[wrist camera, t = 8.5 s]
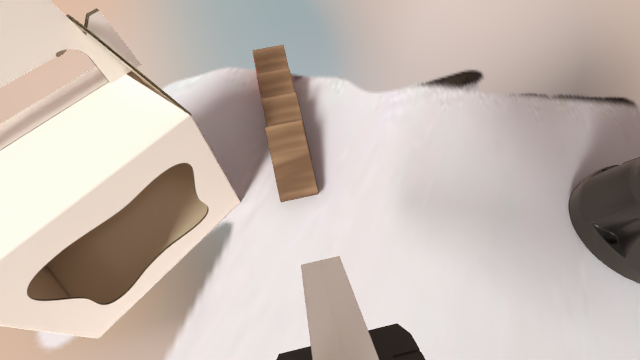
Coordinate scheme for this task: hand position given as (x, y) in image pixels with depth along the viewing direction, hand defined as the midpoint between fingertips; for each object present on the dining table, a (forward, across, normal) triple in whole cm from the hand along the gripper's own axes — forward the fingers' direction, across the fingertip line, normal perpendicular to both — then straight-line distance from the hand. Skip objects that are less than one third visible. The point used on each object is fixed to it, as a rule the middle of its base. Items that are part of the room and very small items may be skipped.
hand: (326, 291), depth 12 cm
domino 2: (+37, 0, +3) cm, 37 cm away
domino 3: (+33, 0, -1) cm, 33 cm away
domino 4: (+30, 0, -5) cm, 30 cm away
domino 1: (+41, 0, +7) cm, 42 cm away
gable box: (+31, -21, -6) cm, 37 cm away
